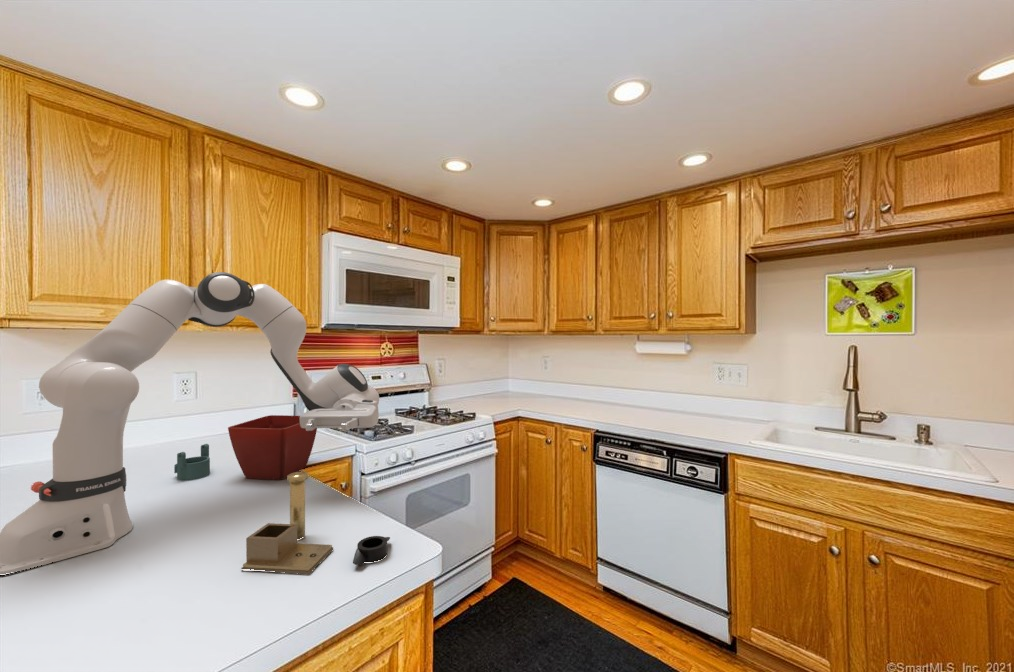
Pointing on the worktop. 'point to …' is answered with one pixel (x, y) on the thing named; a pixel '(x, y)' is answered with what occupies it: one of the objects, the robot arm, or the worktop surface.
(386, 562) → the worktop surface
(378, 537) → the black ring with tabs
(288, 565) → the brass socket plate
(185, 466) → the bracket
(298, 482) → the hinge pin
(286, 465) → the plant pot
